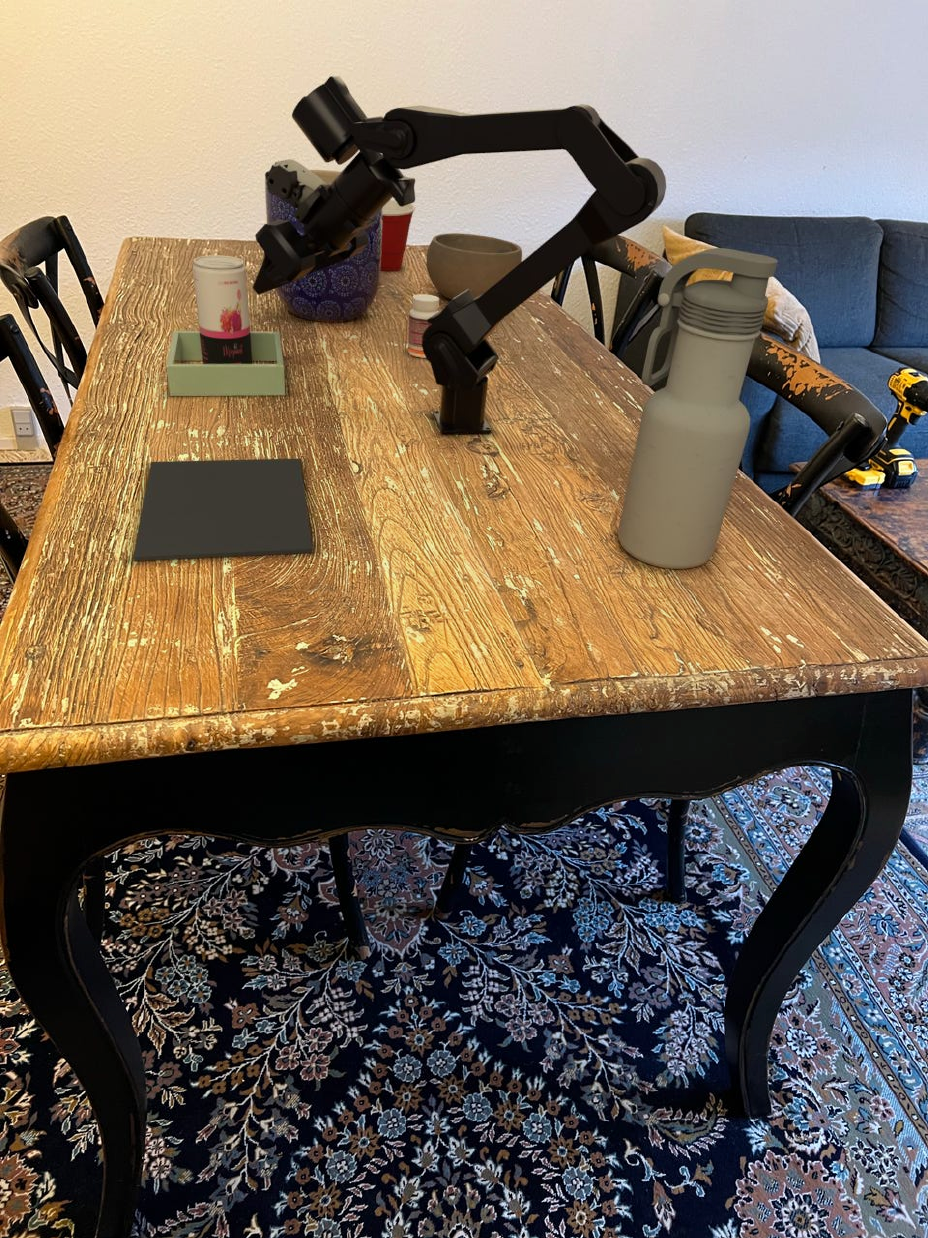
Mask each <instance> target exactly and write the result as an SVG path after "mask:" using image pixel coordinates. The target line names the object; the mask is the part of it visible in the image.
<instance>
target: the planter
mask: <svg viewBox="0 0 928 1238" xmlns="http://www.w3.org/2000/svg"><path fill="white" fill-rule="evenodd" d="M309 170H310V171H311V172H312V173H314V174H315V175H317V176H318V177H319V178H321V179H322V180H323V182H325V183H326V184H330V183H332V182H333V181H334V180H335V179H336V178H337V176H338V175H339V174H340V173H341V172H342V171H337V170H327V169H326V170H324V169H309ZM266 183H267V179H266V178H265V177H264V193H265V194H264V196H265V214H266V215H265V216H266V224H267V223H270V222H274V221H277V220H285V221H290V222H291V223H292V225H293V226H294V227H295V229H296V230H297V231H298V232H299V234H300V235H301V236H302V235H305V232H304V231H303V228H302V226H303V224H302V223H299V222H298V221H297V219H296V218H295V217H294V215H293V213H294V212H295V210H296V209H297V208H294V207H293V206H291V205H290V204H288V203H287V202H285V201H284V200H282V199H281V198H279V197H278V196H277V195H273V194H271V193H270V192H269V191H268V190H267V185H266ZM382 210H383V207H382V209H381V210H380V211H379V212H378V213H377V214H376V215H375V216H374V217H373V218H372V219H371V220H372V221H373V223H372V224H371V225H370V226H369V227H368V228H366V229H364V230H365V231H366V232H367V234H368V243H367V245H366V246H365V247H364V249H363V250H362V251H361V252H360V253H359V254H356V255H354V256H352V257H351V258H349V259H347V260H344V261H342V262H339V263H337V264H334V265H332V266H329V267H326V268H324V269H321V270H318V271H316V272H313V273H311V274H308V275H305V276H304V278H302V279H299V280H297V281H294V282H292V283H289V284H286V285H284V286H281V287H278V288H275V289H274V290H275V291H276V293H277V296H278V298H279V299H280V301H281V302H282V304H283V306H284V307H285V308H286V309H287V311H289V312H290V313H292V314H293V315H294V316H297V317H298V318H301V319H304V320H308V321H312V322H319V323H320V322H321V323H340V322H348V321H353V320H355V319H358V318H360V317H361V316H363V315H364V314H365V313H366V312H367V311H368V310H369V308H370V307H371V306H372V304H373V302H374V301H375V298H376V296H377V294H378V290H379V286H380V277H381V270H380V268H381V253H382ZM349 243H350V242H349ZM350 244H351V243H350ZM351 247H352V245H350V247H349V248H348V249H350V248H351Z"/></svg>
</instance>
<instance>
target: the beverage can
mask: <svg viewBox="0 0 928 1238" xmlns="http://www.w3.org/2000/svg"><path fill="white" fill-rule="evenodd" d="M192 262H193V265H192V274H193V283H194V292H195V302H196V312H197V320H198V321H197V322H198V331H199V332H200V341H201V350H202V360H203V361H202V364H254V363H253V361H252V349H251V335H250V331H251V324H250V308H249V307H250V306H249V295H248V293H249V292H248V284H247V283H248V282H247V280H248V279H247V267H246V266H245V261H244V260H243V259H242V258H239V257H236V256H232V255H231V256H230V255H222V254H221V255H220V254H219V255H215V254H214V255H213V254H212V255H202V256H198V257H196V258H194V259H193V261H192Z"/></svg>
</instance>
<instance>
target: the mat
mask: <svg viewBox="0 0 928 1238" xmlns="http://www.w3.org/2000/svg"><path fill="white" fill-rule="evenodd" d="M302 469H303V468H302V463H301V458H261V459H257V458H255V459H220V460H219V459H218V460H216V459H215V460H173V461H151V462H150V465H149V471H148V476H147V482H146V487H145V493H144V498H143V502H142V508H141V513H140V518H139V524H138V528H137V529H138V530H137V534H136V535H137V536H136V540H135V545H134V551H133V556H132V558H133V561H134V562H146V561H148V562H149V561H165V560H166V561H167V560H169V561H170V560H188V559H189V560H190V559H208V558H209V559H210V558H232V557H251V556H273V555H274V556H275V555H293V554H312V553H313V552H314V548H313V542H312V534H311V527H310V521H309V513H308V507H307V506H308V505H307V498H306V491H305V484H304V478H303V470H302Z"/></svg>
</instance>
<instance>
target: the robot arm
mask: <svg viewBox="0 0 928 1238" xmlns="http://www.w3.org/2000/svg"><path fill="white" fill-rule="evenodd" d="M291 117H292V120H293V121H294V123H295V124H296V125H297V127H298V128H299V129H300V130H301V132H302V133H303V134H304V136H305V137H306V139H307V140H308V141H309V143H310V144H311V145H312V147H313V148H314V150H316V152H317V154H318V155H319V156H320V158H321V159H322V160H323V162H324V163H328V164H329V163H331V162H333V161H335V163H336V164H337V165H339V166H340V165H343V164H345V163H346V162H348V161H349V160H350V159H351V161H350V162H349V163H348V164H347V165H346V166H345V167H344V169H342V170H341V171H340V172H341V173H340V174H339V175H338V176H337V178H336V179H335V180H334V181H333V182H332V183H330V184H326V183H325V182H323V180H322V179H321V178H319V177H318V176H317V175H315V174H314V173H312V172H311V171H310V170H311V169H308V168H307V167H305V166H304V165H303V164H302V163H300V162H298V161H297V160H295V159H291V158H290V159H289V158H288V159H283V160H278V161H274V164H272V165H271V167H270V169H269V170H268V171H266V172H265V174H264V179H265V178H266V179H267V183H266V185H267V190H268V191H269V192H270V193H271V194H273V195H277V196H278V197H279V198H281V199H282V200H284V201H285V202H287V203H288V204H290V205H291V206H293V207H294V208H297V209H296V210H295V212H294V213H293V215H294V217H295V218H296V219H297V221H298V222H299V223H302V224H303V226H302V228H303V231H304V232H305V235H302V236H301V235H300V234H299V232H298V231H297V230H296V229H295V227H294V226H293V225H292V223H291V222H290V221H285V220H277V221H274V222H270V223H267V222H266V223H264V224H263V226H262V227H261V228H260V229H259V230H258V231H257V232H256V233H255V235H254V237H255V241H256V242H257V244H258V245H259V247H260V248H261V249H262V251H263V260H262V261H261V265H260V267H259V270H258V273H257V274H256V278H255V280H254V283H253V285H252V289H253V290H254V292H255V293H256V294H257V295H259V296H260V295H262V294H265V293H267V292H270V291H273V290H276V289H275V288H278V287H281V286H284V285H286V284H289V283H292V282H294V281H297V280H299V279H302V278H304V276H305V275H308V274H311V273H313V272H316V271H318V270H321V269H324V268H326V267H329V266H332V265H334V264H337V263H339V262H342V261H344V260H347V259H349V258H351V257H352V256H354V255H356V254H359V253H360V252H361V251H362V250H363V249H364V247H365V246H366V245H367V243H368V234H367V232H366V231H365V230H364V229H366V228H368V227H369V226H370V225H371V224H372V223H373V221H372V220H371V219H372V218H373V217H374V216H375V215H376V214H377V213H378V212H379V211H380V210H381V209H382V207H383V206H384V205H385V204H386V203H387V202H388V201H389V200H392V199H393V200H396V202H397V203H398V205H399V206H401V207H403V206H405V205H408V204H413V203H415V202H416V192H415V184H416V178H414V177H408V176H406V175H404V174H403V173H402V170H409V169H413V168H416V167H417V168H418V167H421V166H424V165H429V164H431V163H435V162H439V161H443V160H447V159H451V158H455V157H458V156H462V155H477V154H496V153H497V154H498V153H516V152H539V151H558V150H559V151H560V150H562V151H563V150H564V151H566V152H567V153H568V154H569V155H570V156H571V158H572V159H573V161H574V162H575V163H576V165H577V166H578V168H579V170H580V171H581V172H582V174H583V175H584V177H585V178H586V180H587V181H588V183H590V185H591V186H592V187H593V188H594V189H595V191H593V193H592V194H591V195H590V196H589V197H588V199H587V200H586V201H585V202H584V204H583V205H582V206H581V208H580V209H579V210H578V212H577V213H576V214H575V216H573V218H572V219H571V220H570V221H569V222H568V223H566V224H565V225H564V226H563V227H562V228H560V229H559V230H558V231H556V233H554V234H553V235H552V236H551V237H549V239H548V240H546V241H545V242H544V243H543V244H541V245H540V246H539V247H538V248H537V249H536V250H534V251H533V252H531V254H529V255H528V256H527V257H526V258H524V259H522V262H521V263H520V264H519V265H517V266H516V267H515V268H514V269H513V270H511V271H510V272H509V273H508V274H507V275H505V276H504V277H503V278H502V279H501V280H499V281H498V282H497V283H496V284H495V285H493V286H492V287H491V288H490V289H489V290H487V291H486V292H485V293H484V294H482V295H480V296H478V297H476V298H473V296H472V294H471V292H470V290H469V289H467V290H465V291H464V292H462V293H461V294H459V295H458V296H456V297H455V298H453V299H450V301H449V302H448V303H447V304H446V305H445V306H444V308H442V309H440V310H438V311H439V312H438V313H436V314H435V315H433V316H432V317H430V318H429V319H427V322H428V323H430V324H431V325H430V326H428V327H427V329H426V330H425V331H424V333H423V335H422V348H423V352H424V354H425V356H426V358H425V359H426V360H427V362H429V363H430V367H431V371H432V374H433V376H434V381H435V383H436V385H438V386H441V391H440V393H441V394H440V409H439V410H433V411H432V416H433V419H434V420H435V423H436V425H437V427H438V429H439V431H440V433H441V434H444V435H459V434H460V435H462V434H463V435H464V434H469V435H470V434H492V431H493V428H492V427H491V425H490V423H489V421H488V420H487V418H486V407H487V396H488V383H489V377H488V376H487V375H489V373H491V372H493V371H494V369H495V367H496V365H497V363H498V360H499V358H500V355H499V354H498V353H497V351H496V350H495V349H494V348H493V346H492V345H491V344H490V342H489V341H488V340H487V339H488V338H489V337H490V336H491V334H493V332H494V331H495V329H496V328H497V327H498V326H499V324H500V323H501V322H502V321H503V320H504V319H505V317H507V316H508V315H510V314H511V313H512V312H513V311H514V310H516V309H517V308H518V307H519V306H520V305H522V304H523V303H524V302H526V301H527V300H528V299H529V298H531V297H532V296H533V295H535V294H536V293H537V292H539V291H540V290H541V289H542V288H543V287H545V286H546V285H547V284H548V283H550V281H552V280H553V279H555V278H556V277H557V276H558V275H559V274H561V273H563V271H565V270H567V268H569V267H570V266H571V265H572V264H573V263H575V262H576V261H578V259H580V258H581V257H583V255H585V254H586V253H588V252H589V251H590V250H591V249H593V248H595V247H597V246H599V245H601V244H603V243H605V242H607V241H609V240H611V239H613V238H616V237H617V236H619V235H621V234H623V233H624V232H626V231H629V230H631V229H632V228H634V227H636V226H638V225H640V224H642V222H644V221H646V220H647V219H648V218H649V217H650V216H651V215H652V214H653V213H654V212H655V211H657V209H658V208H659V207H660V206H661V204H662V203H663V201H664V199H665V197H666V192H667V179H666V175H665V172H664V171H663V169H662V167H661V166H660V165H659V164H658V163H657V162H656V161H654V160H652V159H651V158H647V157H646V158H645V157H639V155H638V154H637V153H636V152H635V151H634V149H633V148H632V147H631V146H630V145H629V144H628V143H627V142H626V141H625V140H623V139H622V137H621V136H619V135H618V134H617V132H615V131H614V130H613V129H612V128H611V127H610V126H609V125H608V124H607V123H606V122H605V121H604V120H603V119H602V118H601V116H600V115H599V113H598V111H597V110H596V109H595V108H594V107H593V106H591V105H589V104H583V103H581V104H575V105H571V106H569V107H562V108H561V107H560V108H547V109H530V110H529V109H528V110H516V111H501V112H499V111H498V112H484V113H467V112H460V111H456V110H451V109H446V108H441V107H434V106H426V105H412V106H411V105H410V106H403V107H396V108H392V109H390V110H388V111H387V112H386V113H385V115H384V116H381V115H379V116H373V117H367V114H366V113H365V112H364V111H363V109H362V108H361V106H360V105H359V103H358V102H357V101H356V100H355V98H354V97H353V95H352V94H351V93H350V90H349V88H348V86H347V84H346V82H345V81H344V80H343V78H342V77H341V76H339V75H332V76H329V77H328V78H327V79H326V81H325V82H324V83H322V84H321V85H318V86H317V87H316V88H314V89H313V90H312V91H310V92H309V93H308V94H307V95H306V96H305V95H304V96H302V98H301V99H300V100H299V101H298V102H297V103H296V105H295V106H294V108H293V110H292V112H291ZM349 242H350V243H351V244H350V243H349ZM350 245H352V247H351V248H350V249H348V248H349V247H350Z"/></svg>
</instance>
